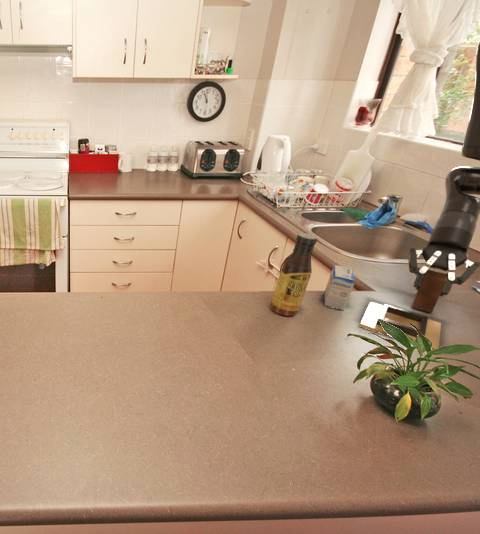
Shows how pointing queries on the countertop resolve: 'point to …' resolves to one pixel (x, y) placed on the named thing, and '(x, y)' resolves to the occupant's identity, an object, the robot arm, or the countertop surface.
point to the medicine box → (339, 287)
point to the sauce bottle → (294, 277)
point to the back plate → (401, 322)
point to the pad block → (429, 291)
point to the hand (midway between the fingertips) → (429, 291)
